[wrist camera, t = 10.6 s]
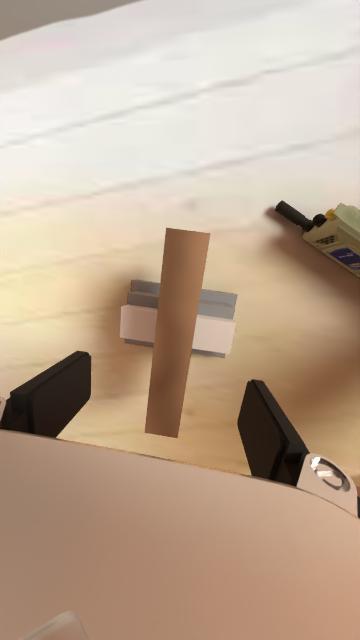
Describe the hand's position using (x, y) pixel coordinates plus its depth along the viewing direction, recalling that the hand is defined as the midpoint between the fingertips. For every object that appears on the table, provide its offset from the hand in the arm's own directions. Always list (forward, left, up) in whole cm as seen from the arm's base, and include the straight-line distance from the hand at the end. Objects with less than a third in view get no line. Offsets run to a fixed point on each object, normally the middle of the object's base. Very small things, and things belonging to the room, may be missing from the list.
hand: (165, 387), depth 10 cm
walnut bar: (0, 0, -12) cm, 12 cm away
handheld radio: (-22, -12, -20) cm, 32 cm away
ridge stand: (0, 0, -20) cm, 20 cm away
